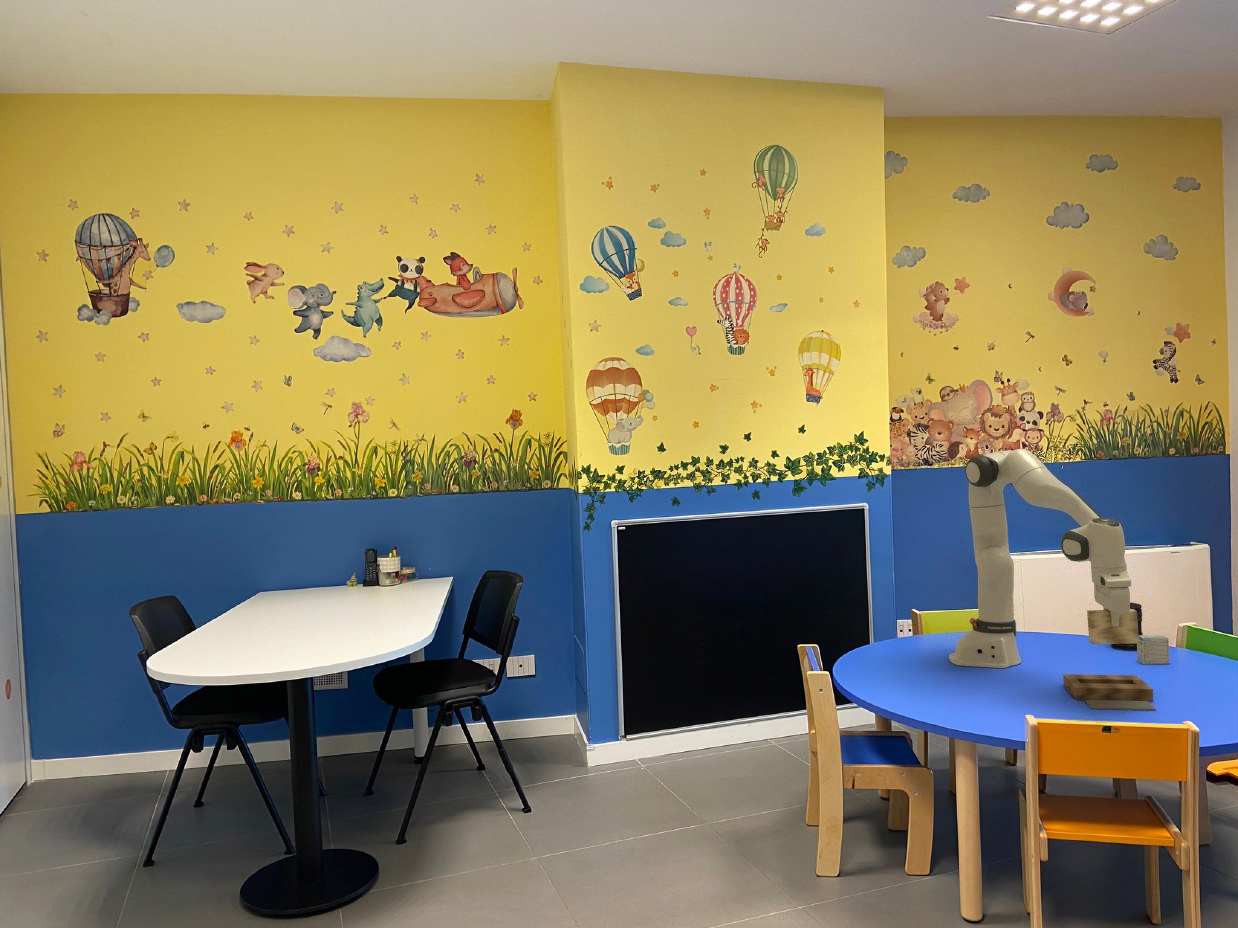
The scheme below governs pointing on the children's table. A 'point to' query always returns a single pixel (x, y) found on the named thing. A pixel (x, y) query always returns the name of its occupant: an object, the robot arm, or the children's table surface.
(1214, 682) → the children's table surface
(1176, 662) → the children's table surface
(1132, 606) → the black cylinder
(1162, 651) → the medicine box
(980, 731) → the children's table surface
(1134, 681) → the walnut case
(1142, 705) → the grey flat slab
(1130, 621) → the oak cover plate
